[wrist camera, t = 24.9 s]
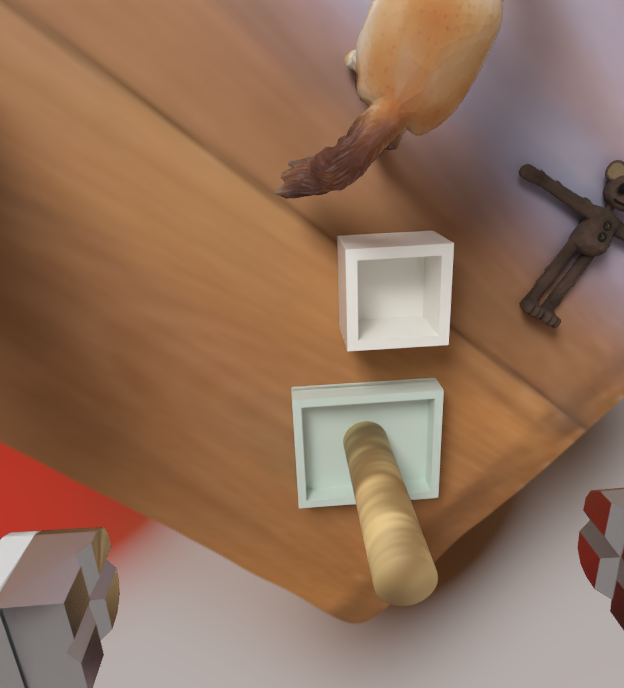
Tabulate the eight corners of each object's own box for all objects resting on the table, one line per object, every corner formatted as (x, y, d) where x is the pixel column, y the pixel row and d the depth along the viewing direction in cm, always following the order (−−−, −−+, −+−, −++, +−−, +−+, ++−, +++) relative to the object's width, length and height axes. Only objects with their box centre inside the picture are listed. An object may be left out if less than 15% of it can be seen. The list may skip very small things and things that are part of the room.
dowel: (338, 455, 53) (366, 601, 37) (349, 417, 52) (383, 551, 35) (380, 462, 54) (426, 609, 37) (392, 425, 53) (446, 560, 36)
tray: (297, 490, 56) (298, 508, 53) (291, 387, 51) (292, 400, 49) (430, 480, 56) (438, 497, 54) (435, 377, 52) (443, 390, 49)
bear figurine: (459, 278, 46) (571, 115, 40) (447, 263, 49) (547, 112, 44) (618, 365, 50) (741, 227, 44) (596, 344, 53) (705, 215, 48)
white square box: (339, 327, 49) (347, 351, 44) (337, 235, 46) (345, 249, 41) (429, 321, 50) (448, 344, 44) (432, 230, 47) (454, 243, 41)
